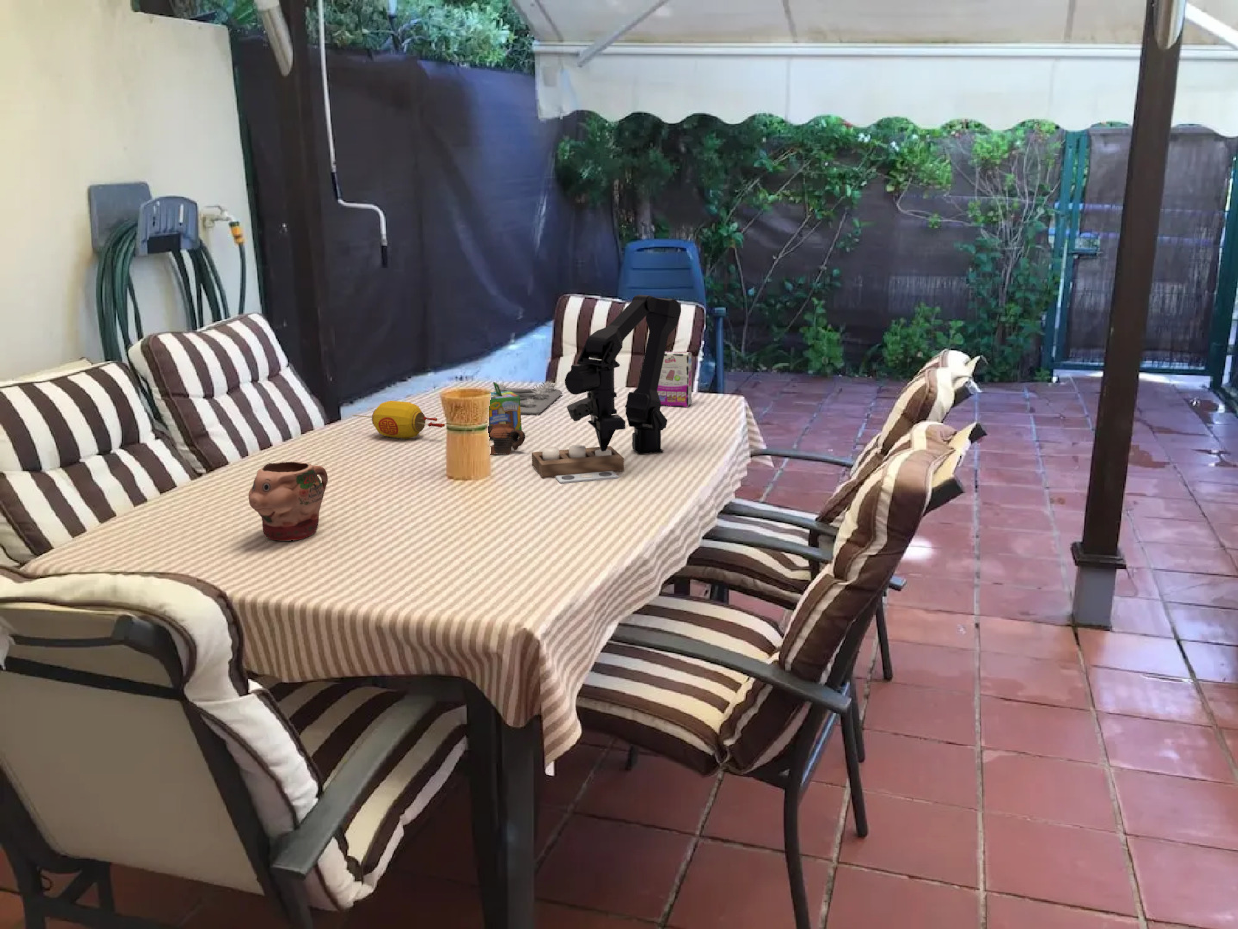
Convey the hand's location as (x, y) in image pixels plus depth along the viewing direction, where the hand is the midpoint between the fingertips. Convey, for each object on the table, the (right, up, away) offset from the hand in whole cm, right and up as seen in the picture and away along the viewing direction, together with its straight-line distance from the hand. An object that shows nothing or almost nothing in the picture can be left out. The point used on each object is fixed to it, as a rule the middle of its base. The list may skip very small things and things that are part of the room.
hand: (603, 450), depth 248 cm
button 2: (0, -3, +1) cm, 3 cm away
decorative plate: (-28, +15, +71) cm, 77 cm away
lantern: (-56, +4, +31) cm, 64 cm away
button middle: (-6, -2, -1) cm, 7 cm away
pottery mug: (-26, 0, +15) cm, 30 cm away
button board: (-6, -4, -1) cm, 7 cm away
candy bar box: (+20, +15, +67) cm, 71 cm away
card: (-4, -6, -9) cm, 12 cm away
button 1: (-13, -3, -3) cm, 13 cm away
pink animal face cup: (-61, -17, -44) cm, 77 cm away
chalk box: (-28, +4, +31) cm, 42 cm away
